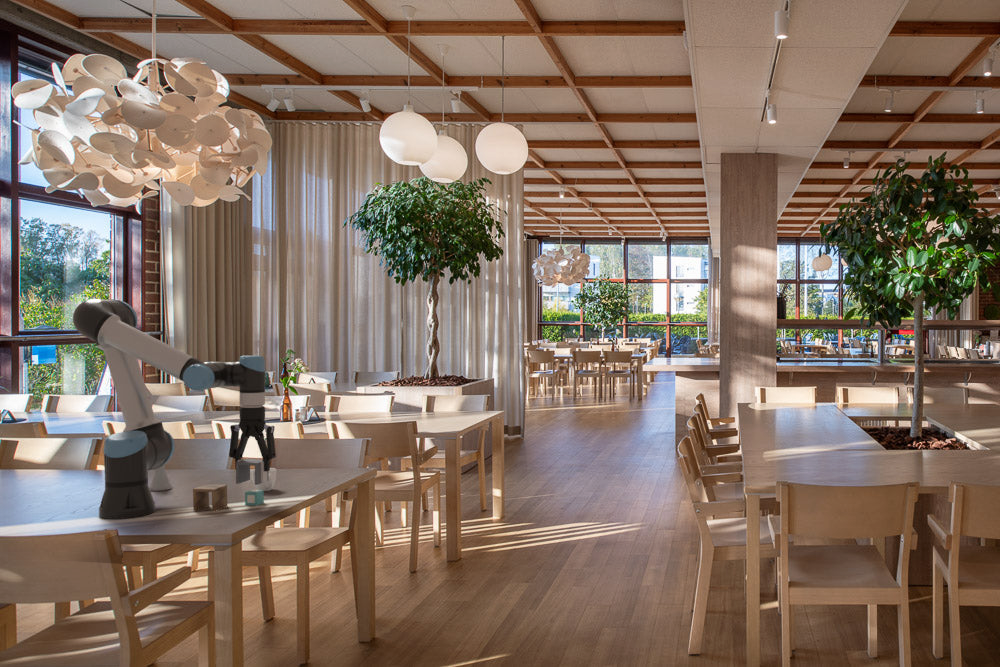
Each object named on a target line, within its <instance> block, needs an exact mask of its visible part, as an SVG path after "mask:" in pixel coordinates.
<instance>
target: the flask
mask: <svg viewBox="0 0 1000 667" xmlns="http://www.w3.org/2000/svg"><path fill="white" fill-rule="evenodd" d="M165 465H166V464H164V465H162V466H161V467H159V468H156V469H154V474H153V476H152V478H151V479H152V480H151V483H150V485H149V489H150V491H153V492H159V491H160V492H162V491H167V490H172V489H173V485H172V483H171V480H170V479H169V475H168V473H167V470H166V466H165Z"/></svg>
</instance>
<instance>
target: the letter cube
mask: <svg viewBox="0 0 1000 667" xmlns="http://www.w3.org/2000/svg"><path fill="white" fill-rule="evenodd" d="M264 492H265V491H264V490H257V489H250V490H247V491H245V492H244V501H245V502H244V503H245V506H259V504H260V505H262V504H265V499H264V498H265V497H264Z"/></svg>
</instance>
